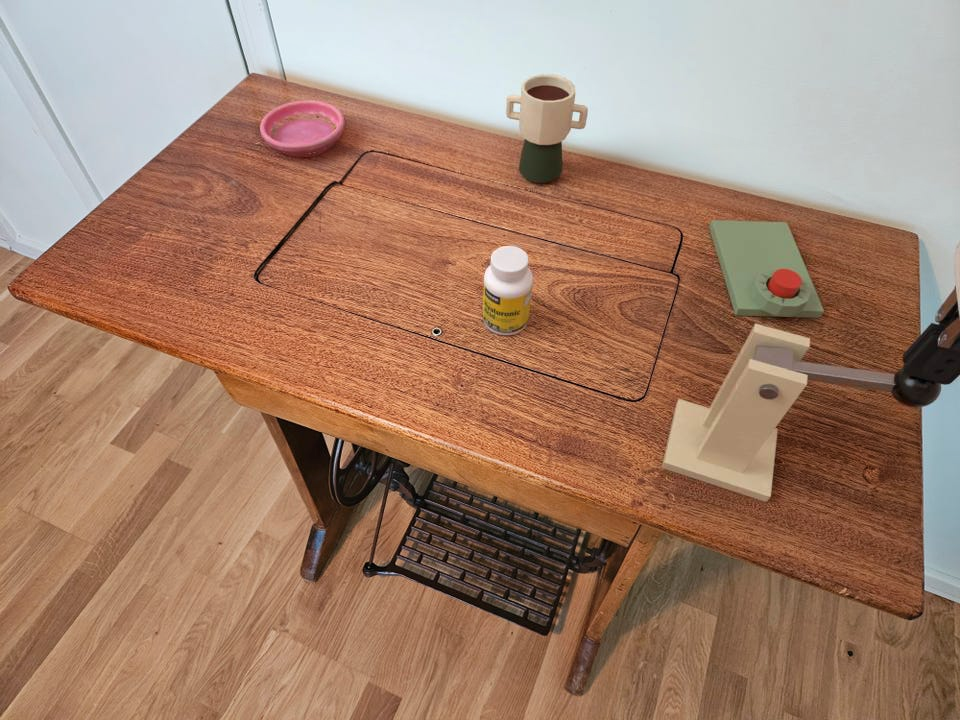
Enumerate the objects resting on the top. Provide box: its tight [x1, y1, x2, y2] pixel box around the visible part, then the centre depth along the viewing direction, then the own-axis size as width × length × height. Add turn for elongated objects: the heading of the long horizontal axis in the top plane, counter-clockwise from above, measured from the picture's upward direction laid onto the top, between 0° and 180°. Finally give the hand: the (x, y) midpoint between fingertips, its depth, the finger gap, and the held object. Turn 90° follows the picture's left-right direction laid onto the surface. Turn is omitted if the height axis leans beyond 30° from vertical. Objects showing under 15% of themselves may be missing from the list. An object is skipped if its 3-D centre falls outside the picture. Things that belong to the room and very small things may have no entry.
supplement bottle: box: [482, 245, 534, 336], centre depth 69 cm, size 5×5×10 cm
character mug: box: [505, 73, 589, 184], centre depth 85 cm, size 11×7×13 cm, turn 75°
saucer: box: [259, 99, 346, 158], centre depth 93 cm, size 12×12×3 cm
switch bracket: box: [661, 323, 811, 503], centre depth 56 cm, size 10×8×16 cm
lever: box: [754, 345, 942, 408], centre depth 49 cm, size 13×3×3 cm, turn 69°
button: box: [768, 269, 802, 299], centre depth 72 cm, size 3×3×2 cm
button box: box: [708, 219, 825, 319], centre depth 77 cm, size 17×10×3 cm, turn 178°
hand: (924, 371), depth 46 cm, fingers closed
